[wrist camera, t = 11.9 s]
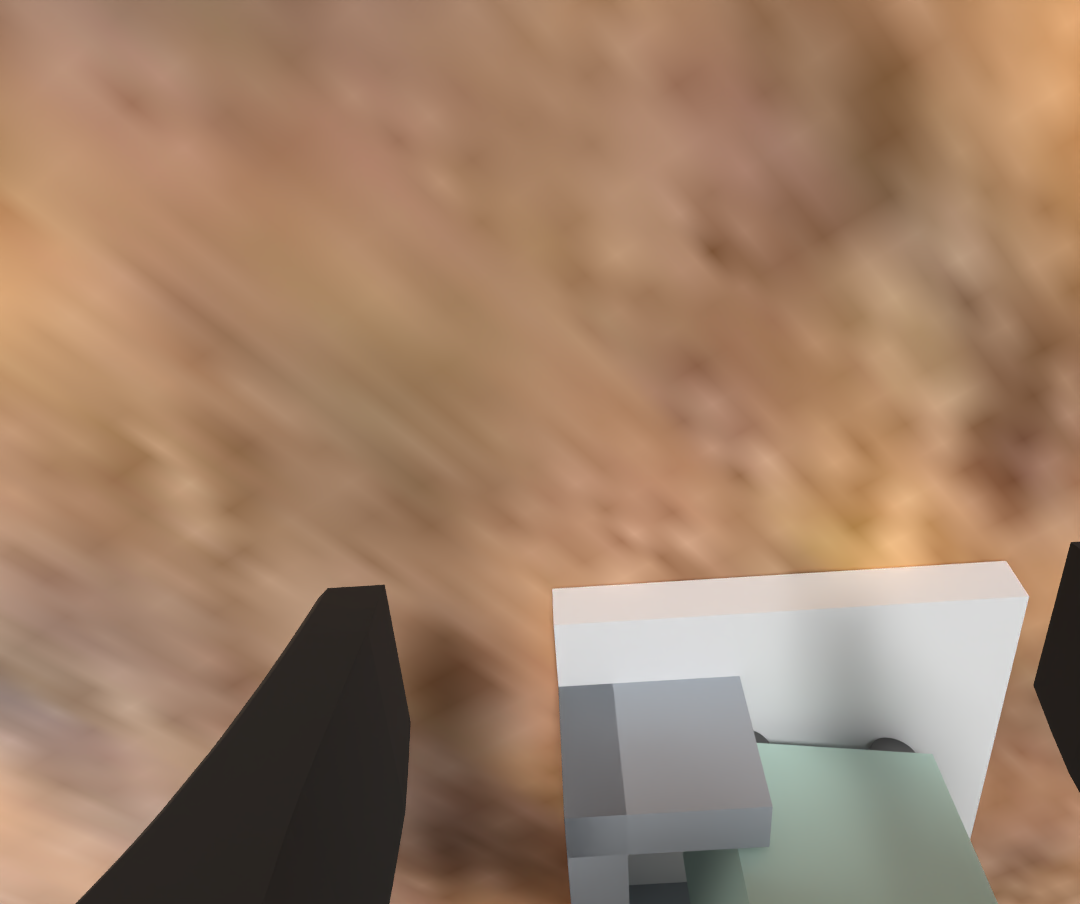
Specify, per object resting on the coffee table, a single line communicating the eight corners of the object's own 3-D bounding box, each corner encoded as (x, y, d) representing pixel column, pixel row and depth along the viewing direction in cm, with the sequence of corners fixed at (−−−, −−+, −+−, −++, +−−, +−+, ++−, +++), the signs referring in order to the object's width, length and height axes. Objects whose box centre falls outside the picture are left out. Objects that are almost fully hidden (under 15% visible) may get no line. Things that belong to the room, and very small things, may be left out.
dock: (1005, 561, 23) (1110, 722, 19) (931, 896, 29) (997, 1070, 25) (552, 588, 23) (559, 753, 19) (577, 915, 29) (586, 1091, 25)
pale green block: (923, 733, 24) (1011, 935, 19) (875, 844, 26) (945, 1048, 22) (710, 719, 23) (753, 922, 19) (679, 833, 25) (711, 1038, 21)
